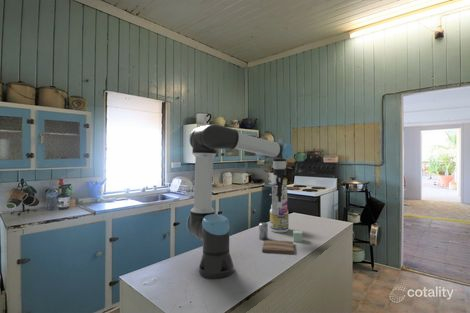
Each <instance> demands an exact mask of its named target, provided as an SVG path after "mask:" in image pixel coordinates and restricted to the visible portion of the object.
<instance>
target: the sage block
mask: <svg viewBox="0 0 470 313" xmlns="http://www.w3.org/2000/svg"><path fill="white" fill-rule="evenodd" d="M292 234H293V235H292V236H293V237H292V238H293V240H292V242H293V243H294V242H295V243H296V242H297V243H303V230H292Z"/></svg>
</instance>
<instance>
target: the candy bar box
mask: <svg viewBox="0 0 470 313" xmlns="http://www.w3.org/2000/svg"><path fill="white" fill-rule="evenodd" d="M276 194H277V185H274V186H271V205H272V215H279V216H280V215H282V214H284V213H286V212H288V213H289V209H288V185H287V184H283V185H282V208H278V207H277V196H276Z"/></svg>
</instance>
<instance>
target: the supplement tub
mask: <svg viewBox="0 0 470 313" xmlns="http://www.w3.org/2000/svg"><path fill="white" fill-rule="evenodd" d="M289 226H290V225H289V211H288V212H286V213H284V214H282V215H280V216H279V215H272V204H271V205H270V209H269V229H270V231H272V232H274V233H278V234H281V233H287V232H288V231H289V229H290V228H289Z"/></svg>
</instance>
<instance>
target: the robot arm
mask: <svg viewBox="0 0 470 313" xmlns="http://www.w3.org/2000/svg"><path fill="white" fill-rule="evenodd" d="M188 141H189V145H190V147H192V149H191V150H192V155H193V156H194V157H195V163H194V189H193V192H194V193H193V207H192V208H190V212H189V216H187V219H186V224H185V226H186V229H187V231H188V233H189V234H190V235H191V236H192V237H194V238H195V239H198V240H199V241H201V242H202V255H201V258H200V259H201V260H200V262H199V265H198V273H199V275H200V276H201V277H203V278H205V279H211V280H213V279H214V280H215V279H217V280H218V279H223V278H226V277H229V276H231V275H232V274H233V273H234V272H235V271H234V270H235V268H234V261H233V259H232V256H231V252H230V222H229V219H228V217H226V216H224V215H222V214H218V213H217V214H215V209H214V207H213V206H212V203H213V201H212V200H213V178H214V177H213V175H214V174H213V172H214V158H215V157H216V155H217V150H228V151H234V150H239V151H245V152H248V153H253V154H256V157H257V158H258V159H262V160H268V159H271V160H272V168H273V170H272V175H273V176H277V177H276V179H275V181H276V186H277V194H276V196H277V207H278V208H282V185H284V178H283V176H286V175H287V169H286V168H287V165H288V162H287V160H289V159H292V157H294V154H295V150H294V147H293V146H292V145H291V144H287V143H286V142H283V141H282V142H281V141H279V142H278V141H275V142H274V141H271V140H266V139H263V138H259V137H256V136H252V135H248V134H245V133H241V132H239V131H238V130H237V129H235V128H234V129H233V128H231V127H228V126H223V125H220V124H214V123H211V124H209V125H202V126H201V125H200V126H198V127H196V128H194V129H193V130H192V131H191V132H190V135H189V140H188Z"/></svg>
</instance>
